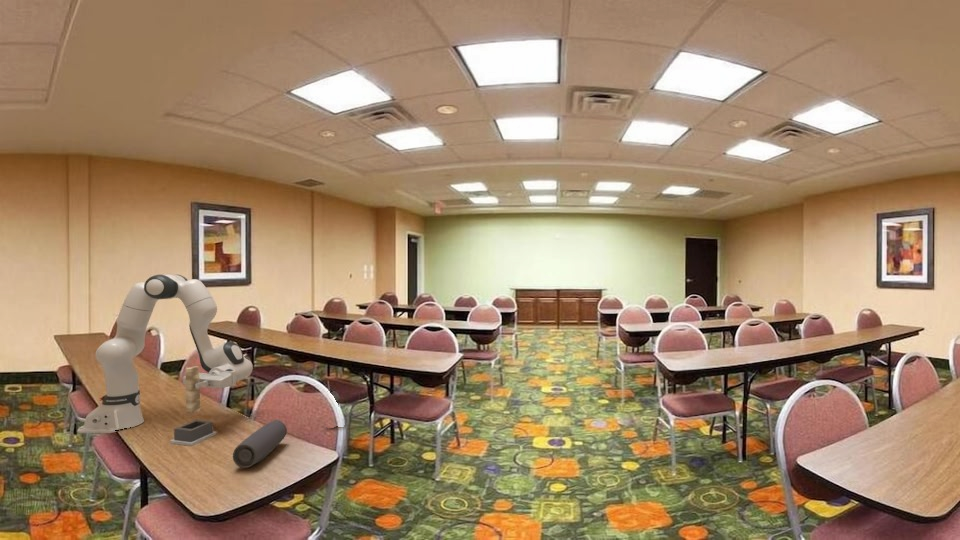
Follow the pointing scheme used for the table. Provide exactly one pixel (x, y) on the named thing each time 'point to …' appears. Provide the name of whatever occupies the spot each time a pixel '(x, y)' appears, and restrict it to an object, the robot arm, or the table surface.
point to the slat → (192, 390)
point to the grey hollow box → (193, 432)
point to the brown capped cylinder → (334, 394)
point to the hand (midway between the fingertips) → (190, 385)
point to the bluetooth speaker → (259, 444)
